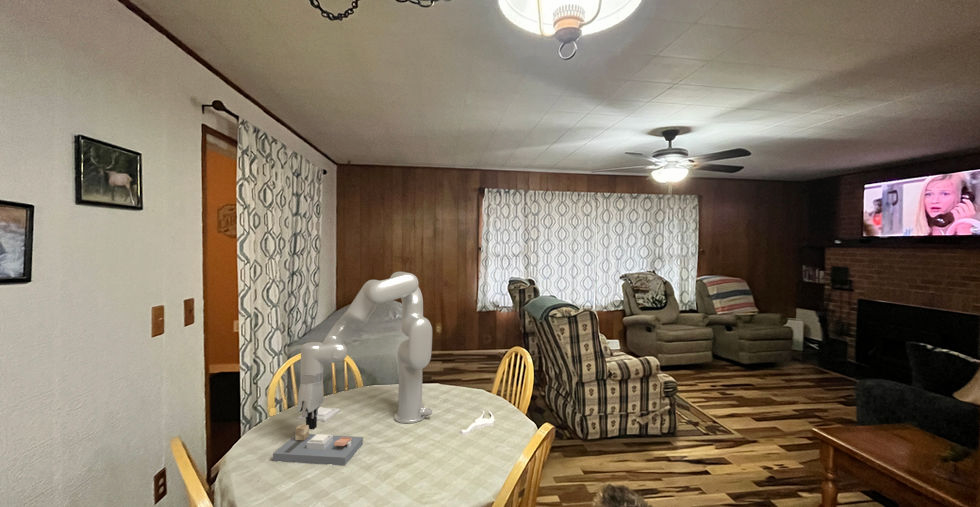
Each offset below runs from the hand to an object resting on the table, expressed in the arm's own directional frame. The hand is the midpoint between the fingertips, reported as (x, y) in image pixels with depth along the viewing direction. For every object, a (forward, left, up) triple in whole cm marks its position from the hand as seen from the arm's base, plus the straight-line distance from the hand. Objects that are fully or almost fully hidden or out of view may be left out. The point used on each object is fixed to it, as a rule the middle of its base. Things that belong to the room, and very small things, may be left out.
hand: (311, 428), depth 142 cm
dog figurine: (-59, -19, -4) cm, 62 cm away
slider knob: (0, +6, -1) cm, 6 cm away
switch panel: (-8, +9, -4) cm, 13 cm away
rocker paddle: (-16, +9, 0) cm, 18 cm away
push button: (-8, +9, -1) cm, 12 cm away
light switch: (+8, -20, -5) cm, 22 cm away
